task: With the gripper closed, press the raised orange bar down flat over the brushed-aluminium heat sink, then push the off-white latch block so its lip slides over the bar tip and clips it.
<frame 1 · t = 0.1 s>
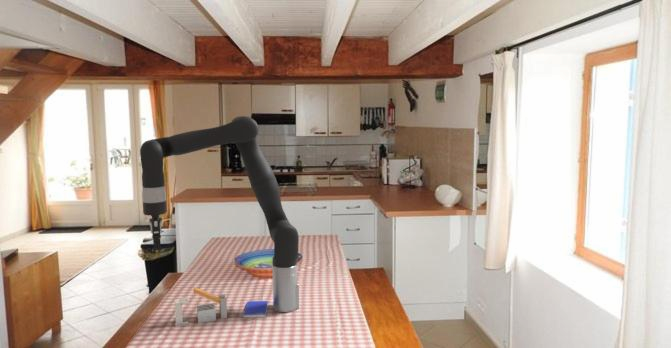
hand: (157, 246, 160), 29 cm above the table, fingers open, 8 cm apart
orange bar: (209, 296, 168), point 9 cm above the table, hinge at 32.0°
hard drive: (256, 311, 178), on the table
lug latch: (181, 311, 165), point 5 cm above the table, slide at 0.0 cm
heatsink: (206, 321, 169), resting on board
board: (202, 321, 168), on the table
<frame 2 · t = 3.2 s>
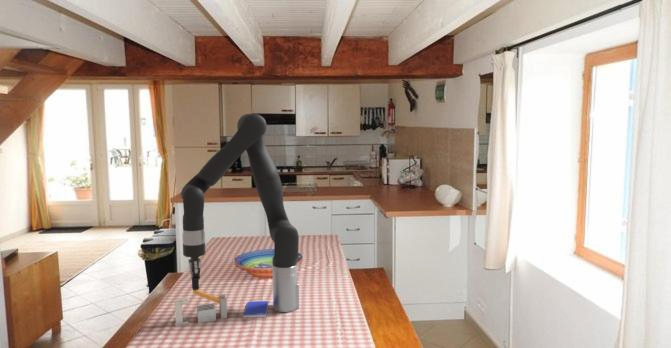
hand: (195, 289, 166), 12 cm above the table, fingers closed
orange bar: (209, 297, 168), point 9 cm above the table, hinge at 30.1°, touching gripper
everything else where it was.
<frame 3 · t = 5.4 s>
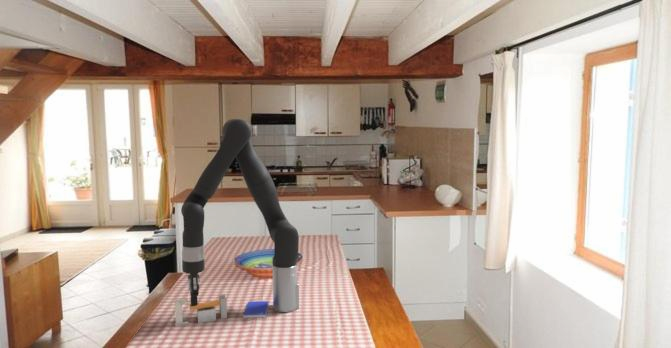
hand: (194, 305, 167), 7 cm above the table, fingers closed
orange bar: (207, 304, 168), point 6 cm above the table, hinge at -0.5°, touching gripper
everything else where it was.
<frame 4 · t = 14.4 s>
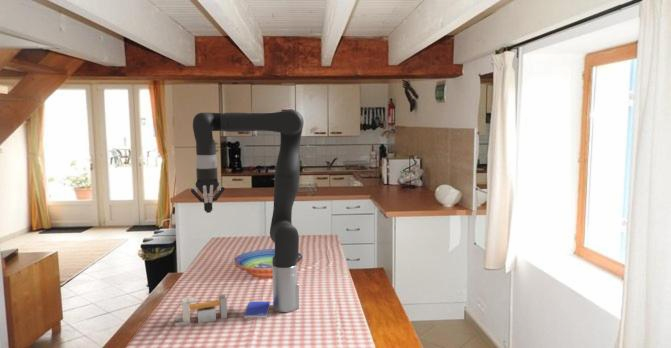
hand: (208, 212, 177), 37 cm above the table, fingers closed
orange bar: (207, 304, 168), point 6 cm above the table, hinge at -0.5°
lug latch: (189, 310, 166), point 5 cm above the table, slide at 2.4 cm
everything else where it was.
at the end: orange bar at +0° (first picture: +32°); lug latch slide at 2.4 cm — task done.
